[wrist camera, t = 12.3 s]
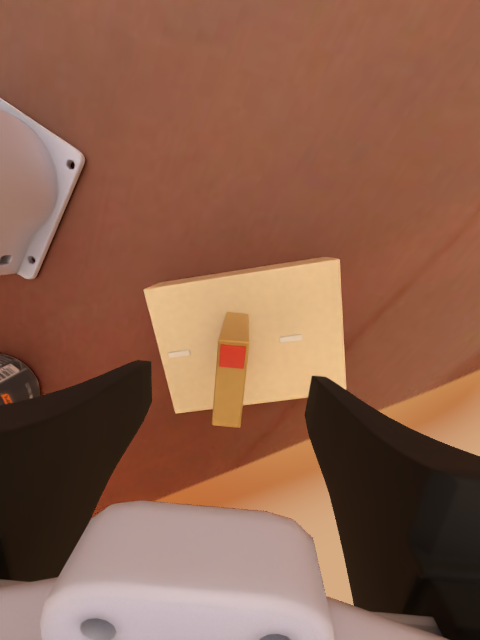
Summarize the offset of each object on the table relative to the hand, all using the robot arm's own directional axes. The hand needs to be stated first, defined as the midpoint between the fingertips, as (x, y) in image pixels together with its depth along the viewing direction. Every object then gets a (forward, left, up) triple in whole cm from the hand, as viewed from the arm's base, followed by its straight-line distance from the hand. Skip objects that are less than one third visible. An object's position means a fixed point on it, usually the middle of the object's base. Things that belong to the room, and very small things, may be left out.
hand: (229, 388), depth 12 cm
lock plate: (+1, -1, -8) cm, 9 cm away
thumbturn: (0, 0, -5) cm, 5 cm away
